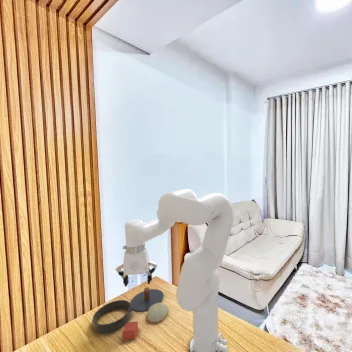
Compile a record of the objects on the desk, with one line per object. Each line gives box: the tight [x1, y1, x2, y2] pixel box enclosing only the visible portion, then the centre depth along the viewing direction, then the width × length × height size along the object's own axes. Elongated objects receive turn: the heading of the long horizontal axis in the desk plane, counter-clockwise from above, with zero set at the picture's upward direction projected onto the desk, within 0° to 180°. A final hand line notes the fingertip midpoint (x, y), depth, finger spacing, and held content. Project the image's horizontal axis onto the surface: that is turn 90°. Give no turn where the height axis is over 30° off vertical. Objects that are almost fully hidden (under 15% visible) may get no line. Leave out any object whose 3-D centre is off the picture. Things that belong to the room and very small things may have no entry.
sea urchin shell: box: [146, 302, 169, 323], centre depth 94 cm, size 9×8×8 cm
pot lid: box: [130, 287, 164, 313], centre depth 104 cm, size 15×15×7 cm
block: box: [122, 320, 139, 341], centre depth 84 cm, size 4×4×4 cm
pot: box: [92, 299, 133, 335], centre depth 92 cm, size 15×15×4 cm
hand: (138, 283), depth 93 cm, fingers open, 9 cm apart
